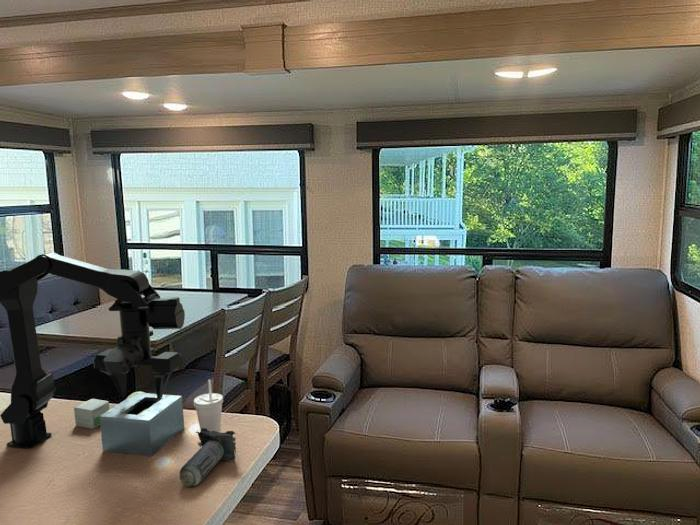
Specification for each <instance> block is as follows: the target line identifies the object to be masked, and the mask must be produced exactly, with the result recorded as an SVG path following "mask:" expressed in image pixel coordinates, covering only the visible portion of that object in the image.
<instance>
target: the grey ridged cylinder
mask: <svg viewBox="0 0 700 525" xmlns="http://www.w3.org/2000/svg"><path fill="white" fill-rule="evenodd" d="M195 434H197V437H198V438H199V439H198V440H199V441H198V442H197V445H198V447H200V448H199V449H198V450H197V451H196V453H194V455H193V456H192V457H191V458H189V459H188V460H187V461H186V463H185V464H183V466H182V467H181V468H180V471H179V481H180V482H181V483H182V484H183V486H185V487H188V488H191V487H194V486H198V485H199V484H200V483H201V481H203V479H204V478H205V477H206V476H207V475H208V474H209V473H210V472H211V470H212V469H213V468H214V467H215V466H216V465H217V463H218V462H219V461H220V460H222V461H225V462H226V461H227V462H228V461H229V462H234V461H236V453H237V450H236V449H237V446H236V445H237V443H236V437H235V436H234V435H236V433H235V432H234V431H233V430H228V431H225V432H221V431H220V432H217V431H212V432H210V431H208V430H207V429H206V428H202V429H200V428H199V430H196V431H195Z"/></svg>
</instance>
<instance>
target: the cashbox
mask: <svg viewBox="0 0 700 525" xmlns="http://www.w3.org/2000/svg"><path fill="white" fill-rule="evenodd" d="M134 393H135V392H134ZM129 396H130V395H129ZM145 409H147V410H145ZM143 410H145V411H144V412H143V413H141V414H140V415H137V414H139V413H140V412H142V411H143ZM184 416H185V415H184V406H183V395H176V394H175V395H174V394H163V396H162V398H161V399H158V398H157V394H156V393H147V392H144V393H135V394H134V395H132V396H130V397H129V398H128V397H126V399H124V400H123V401H121V402H120V403H118V404H116V405H114V406H113V407H111V408H109V410H108V411H107V412H105V413H104V414H102V415H100V416H99V418H100V425H99V426H100V427H99V428H100V434H101V435H100V436H101V443H102V444H101V445H102V452H108V453H109V452H110V453H117V452H118V453H119V454H127V455H139V456H148V457H153V456H155V454H157V453H158V452H159V451H161V449H162V448H163V447H165V446H166V445H167V444H168V443H170V441H171V440H173V439H174V438H175V437H176V436H177V435H178V434H180V433H181V432H182V431H183V430H184V429H185V420H184V419H185V417H184Z"/></svg>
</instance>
